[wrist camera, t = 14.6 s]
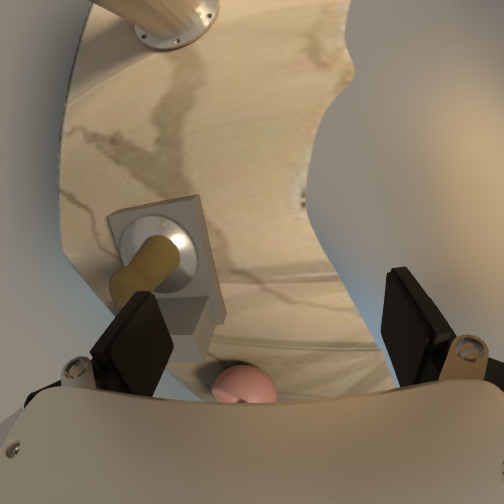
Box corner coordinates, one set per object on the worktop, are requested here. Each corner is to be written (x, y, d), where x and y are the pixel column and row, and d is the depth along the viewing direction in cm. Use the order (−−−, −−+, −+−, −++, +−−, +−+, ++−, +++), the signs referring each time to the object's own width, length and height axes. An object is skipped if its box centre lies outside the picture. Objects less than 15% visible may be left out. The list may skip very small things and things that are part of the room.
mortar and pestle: (205, 367, 52) (191, 412, 42) (249, 342, 48) (240, 392, 38) (246, 396, 55) (239, 440, 45) (290, 376, 51) (289, 423, 40)
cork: (134, 243, 37) (92, 281, 27) (167, 228, 36) (128, 265, 26) (154, 279, 40) (120, 324, 30) (187, 266, 38) (158, 313, 28)
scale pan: (114, 221, 37) (110, 223, 37) (187, 208, 36) (184, 210, 35) (137, 291, 42) (134, 295, 41) (206, 287, 40) (204, 291, 39)
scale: (117, 210, 40) (71, 238, 29) (199, 194, 38) (166, 220, 27) (153, 317, 48) (126, 362, 37) (227, 315, 46) (212, 367, 35)
